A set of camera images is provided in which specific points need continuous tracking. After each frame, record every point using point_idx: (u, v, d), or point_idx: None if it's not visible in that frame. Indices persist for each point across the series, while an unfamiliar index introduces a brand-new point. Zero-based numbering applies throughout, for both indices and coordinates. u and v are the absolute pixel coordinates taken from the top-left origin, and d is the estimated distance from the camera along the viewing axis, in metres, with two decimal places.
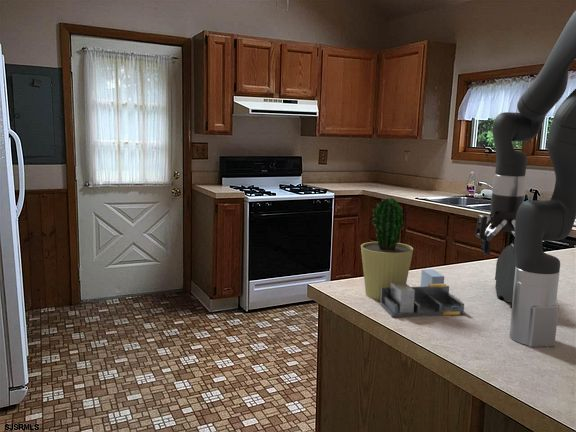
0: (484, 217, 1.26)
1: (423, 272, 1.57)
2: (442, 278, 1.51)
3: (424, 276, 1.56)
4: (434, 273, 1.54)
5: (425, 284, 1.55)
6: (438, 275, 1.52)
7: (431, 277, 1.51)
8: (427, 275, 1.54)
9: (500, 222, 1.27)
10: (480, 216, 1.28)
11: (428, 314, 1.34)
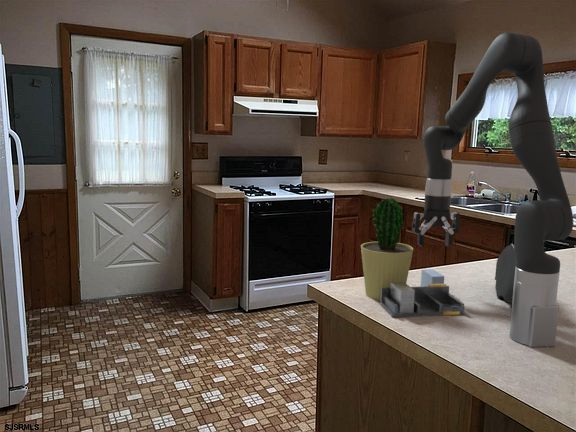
0: (418, 214, 1.49)
1: (423, 272, 1.57)
2: (442, 278, 1.51)
3: (424, 276, 1.56)
4: (434, 273, 1.54)
5: (425, 284, 1.55)
6: (438, 275, 1.52)
7: (431, 277, 1.51)
8: (427, 275, 1.54)
9: (431, 218, 1.50)
10: (415, 213, 1.51)
11: (428, 314, 1.34)
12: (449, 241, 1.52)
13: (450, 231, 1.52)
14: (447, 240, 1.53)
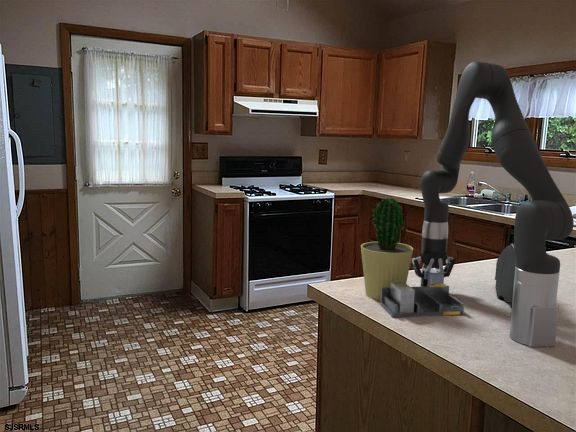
0: (415, 260, 1.52)
1: None
2: (442, 278, 1.51)
3: None
4: (434, 273, 1.54)
5: None
6: (438, 275, 1.52)
7: (431, 277, 1.51)
8: None
9: (429, 261, 1.52)
10: (412, 260, 1.53)
11: (428, 314, 1.34)
12: None
13: None
14: None
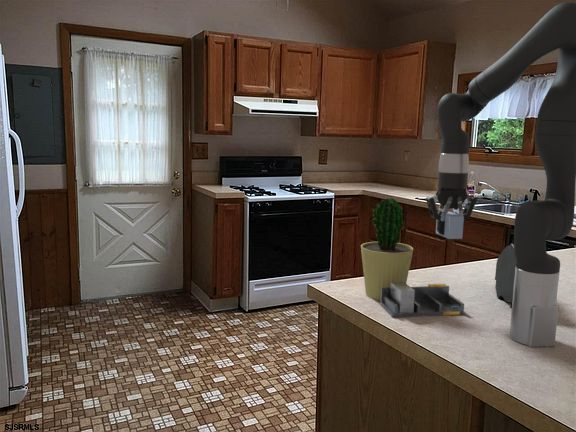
0: (430, 199, 1.32)
1: None
2: (461, 218, 1.31)
3: None
4: (452, 214, 1.34)
5: None
6: (457, 215, 1.32)
7: (449, 217, 1.32)
8: None
9: (446, 200, 1.33)
10: (427, 199, 1.34)
11: (428, 314, 1.34)
12: None
13: None
14: None
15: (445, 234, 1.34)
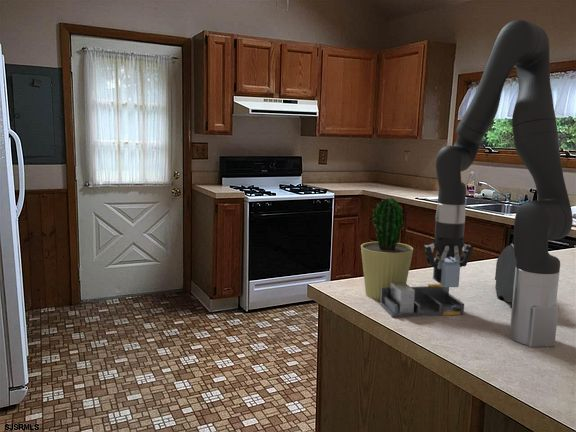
0: (427, 248, 1.35)
1: None
2: (458, 267, 1.34)
3: None
4: (448, 262, 1.37)
5: None
6: (453, 264, 1.35)
7: (445, 266, 1.34)
8: None
9: (443, 249, 1.35)
10: (424, 247, 1.36)
11: (428, 314, 1.34)
12: None
13: None
14: None
15: (442, 282, 1.36)
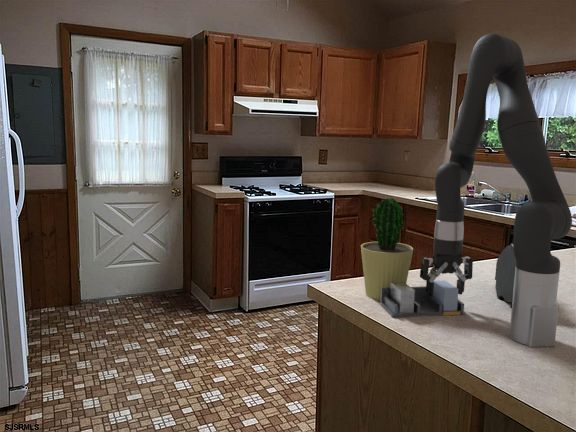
0: (426, 260, 1.35)
1: (434, 284, 1.41)
2: (456, 291, 1.35)
3: (435, 288, 1.40)
4: (447, 285, 1.38)
5: (436, 297, 1.39)
6: (451, 288, 1.35)
7: (444, 290, 1.35)
8: (439, 287, 1.38)
9: (442, 264, 1.35)
10: (423, 259, 1.36)
11: (428, 314, 1.34)
12: (461, 289, 1.38)
13: (462, 278, 1.37)
14: (458, 287, 1.38)
15: None
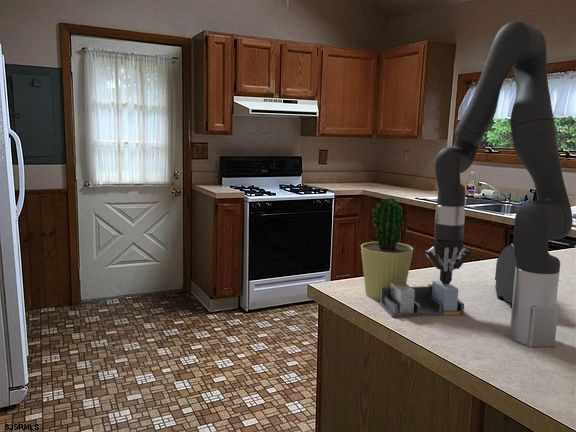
0: (428, 253, 1.35)
1: (434, 284, 1.41)
2: (456, 291, 1.35)
3: (435, 288, 1.40)
4: (447, 285, 1.38)
5: (436, 297, 1.39)
6: (451, 288, 1.35)
7: (444, 290, 1.35)
8: (439, 287, 1.38)
9: (443, 251, 1.35)
10: (426, 253, 1.36)
11: (428, 314, 1.34)
12: (448, 278, 1.37)
13: (449, 267, 1.36)
14: None
15: None
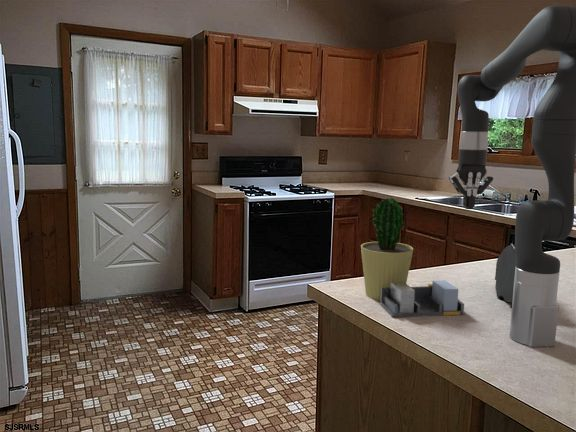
0: (453, 178, 1.41)
1: (434, 284, 1.41)
2: (456, 291, 1.35)
3: (435, 288, 1.40)
4: (447, 285, 1.38)
5: (436, 297, 1.39)
6: (451, 288, 1.35)
7: (444, 290, 1.35)
8: (439, 287, 1.38)
9: (467, 176, 1.41)
10: (450, 178, 1.42)
11: (428, 314, 1.34)
12: (472, 203, 1.43)
13: (473, 192, 1.42)
14: None
15: None
